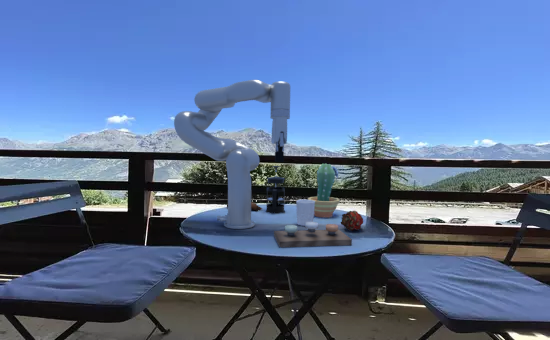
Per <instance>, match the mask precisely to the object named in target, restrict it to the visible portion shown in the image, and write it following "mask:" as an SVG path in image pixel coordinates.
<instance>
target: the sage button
mask: <svg viewBox="0 0 550 340" xmlns="http://www.w3.org/2000/svg"><path fill="white" fill-rule="evenodd" d="M297 230H298V226H297V225H295V224H286V225H285V226H284V231H285V232H287V235H288V236H294V235H295V232H297Z"/></svg>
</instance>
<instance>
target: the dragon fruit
mask: <svg viewBox="0 0 550 340" xmlns="http://www.w3.org/2000/svg"><path fill="white" fill-rule="evenodd" d="M341 216H342V217H341V221H340V225H342V226H343V227H344V228H346V230H348V231H350V232H353V231H354V230H356V231H358V230H359V231H360V230H361V229H362V225H363V223H364V218H363V217H362V215H361V214H360V213H359V212H358V211H356V210H349V211H347V212H346V213H343V214H342V215H341Z"/></svg>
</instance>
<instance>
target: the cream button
mask: <svg viewBox="0 0 550 340" xmlns="http://www.w3.org/2000/svg"><path fill="white" fill-rule="evenodd" d="M304 228H305V229H307V230H308V232H311V233H313V232H315V230H319V223H318V222H317V221H313V222H306V226H304Z"/></svg>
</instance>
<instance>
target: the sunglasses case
mask: <svg viewBox="0 0 550 340" xmlns="http://www.w3.org/2000/svg"><path fill="white" fill-rule="evenodd" d="M227 207H228V202H227V204H226V208H227ZM258 210H259V211H261V210H263V208H262V207H261V206H259V205H257V203H255V202H253V201H251V211H256V212H259V211H258Z"/></svg>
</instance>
